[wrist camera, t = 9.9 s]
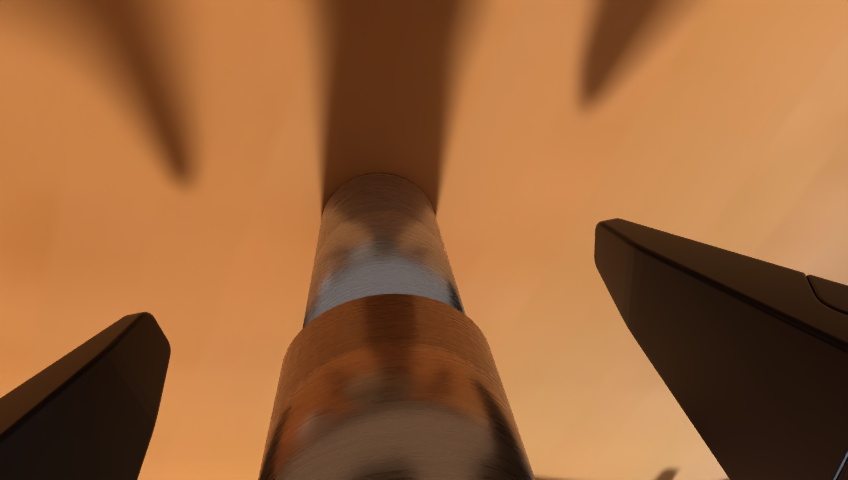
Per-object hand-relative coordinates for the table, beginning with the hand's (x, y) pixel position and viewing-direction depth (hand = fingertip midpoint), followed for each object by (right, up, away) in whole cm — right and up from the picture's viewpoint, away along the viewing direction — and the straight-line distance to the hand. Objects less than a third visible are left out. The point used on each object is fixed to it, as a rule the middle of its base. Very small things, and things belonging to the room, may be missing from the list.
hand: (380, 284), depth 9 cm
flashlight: (0, +1, +2) cm, 3 cm away
